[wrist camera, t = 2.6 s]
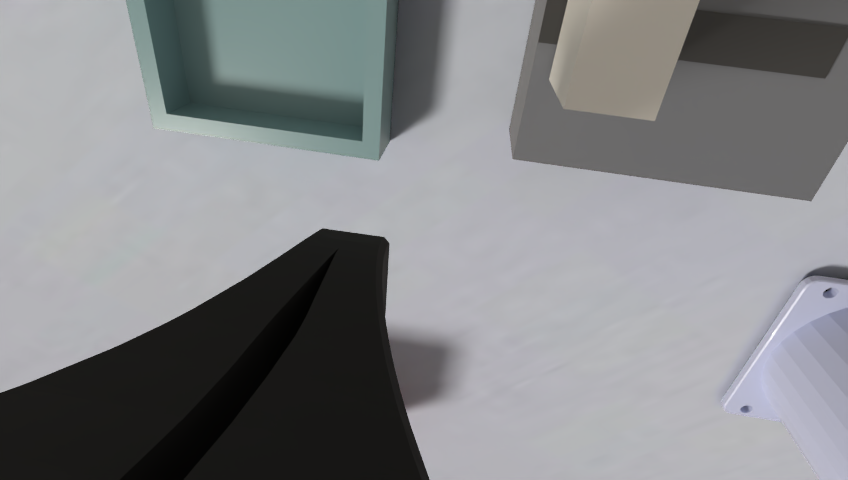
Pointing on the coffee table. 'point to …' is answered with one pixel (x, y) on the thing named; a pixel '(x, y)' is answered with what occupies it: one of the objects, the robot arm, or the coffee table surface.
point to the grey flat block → (709, 102)
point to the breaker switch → (619, 54)
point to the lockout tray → (271, 70)
